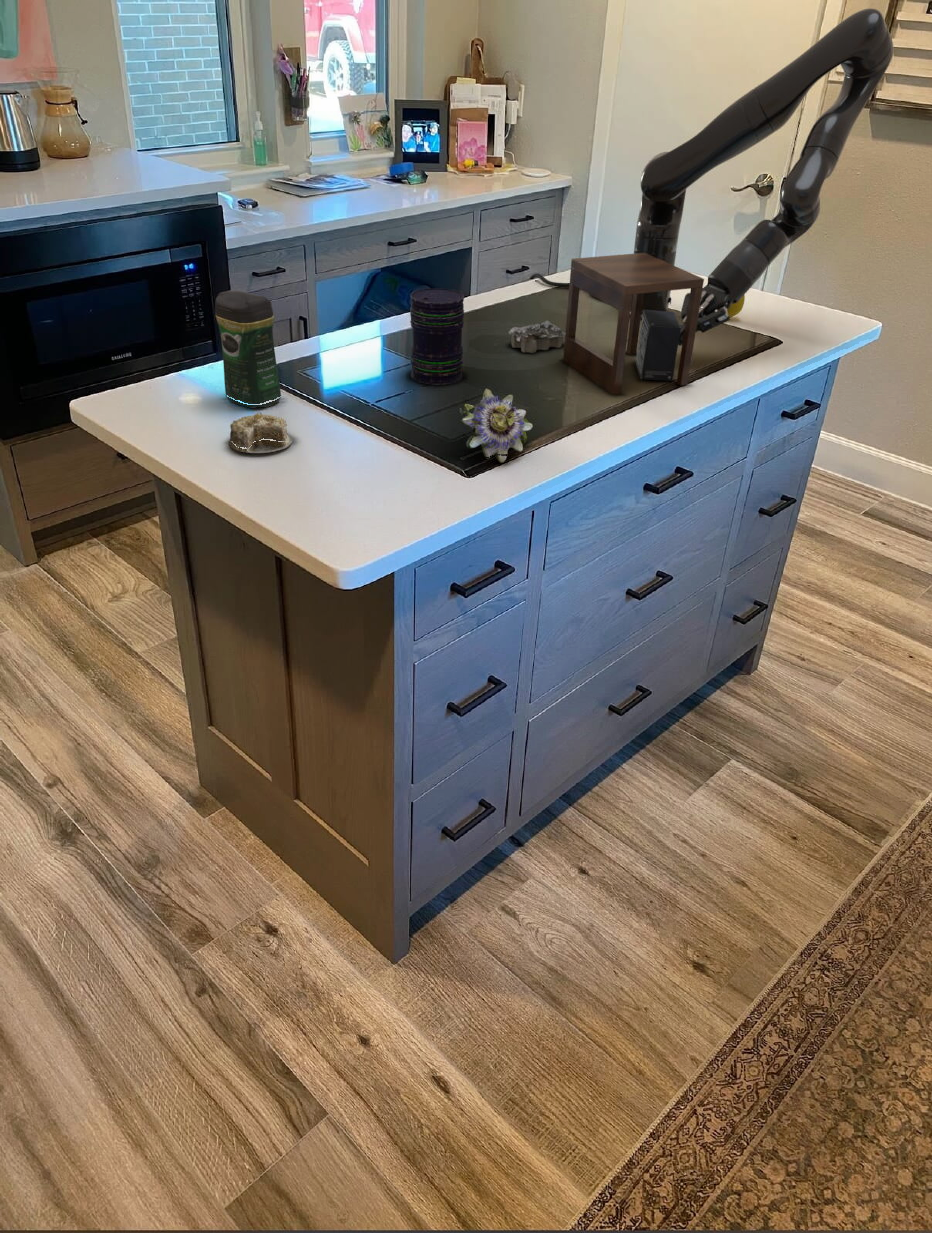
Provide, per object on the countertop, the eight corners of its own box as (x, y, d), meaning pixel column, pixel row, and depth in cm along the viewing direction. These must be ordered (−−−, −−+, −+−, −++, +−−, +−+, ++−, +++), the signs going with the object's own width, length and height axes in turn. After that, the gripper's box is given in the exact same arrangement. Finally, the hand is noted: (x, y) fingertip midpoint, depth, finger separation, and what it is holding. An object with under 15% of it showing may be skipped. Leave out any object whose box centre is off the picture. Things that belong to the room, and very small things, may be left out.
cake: (218, 443, 152) (213, 411, 150) (274, 430, 157) (270, 399, 155) (246, 460, 145) (241, 426, 143) (303, 446, 151) (300, 413, 148)
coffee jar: (289, 401, 167) (280, 294, 156) (254, 413, 162) (242, 303, 151) (253, 387, 172) (242, 282, 161) (218, 399, 167) (204, 292, 156)
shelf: (563, 360, 188) (571, 258, 177) (632, 352, 193) (644, 252, 182) (613, 395, 173) (626, 286, 162) (687, 385, 178) (704, 278, 167)
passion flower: (499, 491, 151) (473, 449, 141) (461, 456, 157) (433, 413, 147) (552, 445, 151) (529, 399, 141) (512, 411, 157) (487, 365, 147)
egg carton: (525, 355, 190) (526, 335, 188) (505, 344, 196) (506, 324, 193) (568, 347, 195) (569, 327, 193) (547, 336, 200) (548, 317, 198)
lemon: (744, 318, 215) (751, 282, 210) (736, 324, 211) (742, 287, 206) (720, 313, 217) (727, 278, 213) (712, 319, 213) (718, 283, 209)
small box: (674, 382, 179) (683, 327, 173) (640, 380, 179) (647, 325, 174) (667, 363, 188) (675, 310, 182) (634, 362, 188) (641, 309, 182)
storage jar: (438, 363, 185) (438, 285, 177) (473, 376, 179) (475, 296, 171) (399, 374, 179) (398, 294, 171) (435, 388, 173) (435, 306, 165)
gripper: (768, 294, 178) (704, 364, 181) (726, 276, 188) (666, 344, 191) (751, 267, 174) (685, 340, 176) (708, 250, 184) (647, 320, 186)
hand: (675, 342), depth 184 cm, fingers closed
